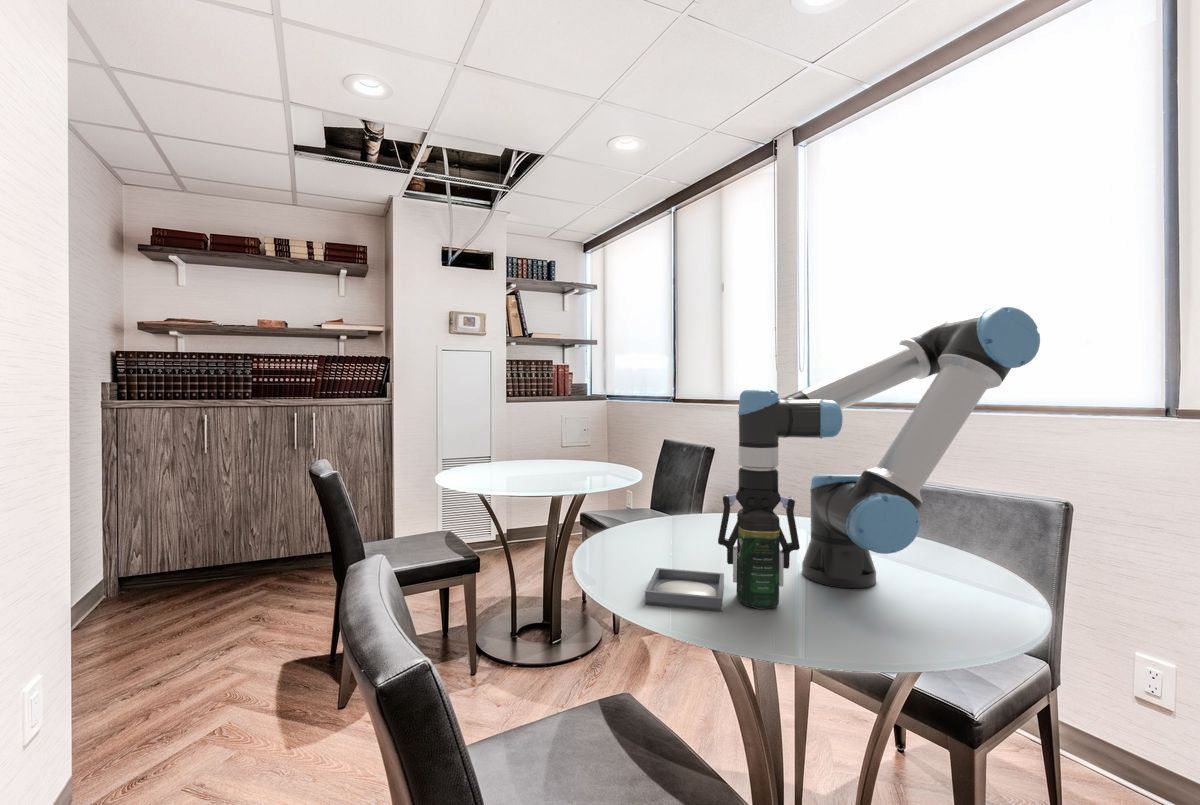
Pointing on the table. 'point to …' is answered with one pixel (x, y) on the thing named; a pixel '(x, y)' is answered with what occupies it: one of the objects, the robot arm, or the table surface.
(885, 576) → the table surface
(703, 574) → the cradle tray
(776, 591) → the coffee jar
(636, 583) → the table surface
